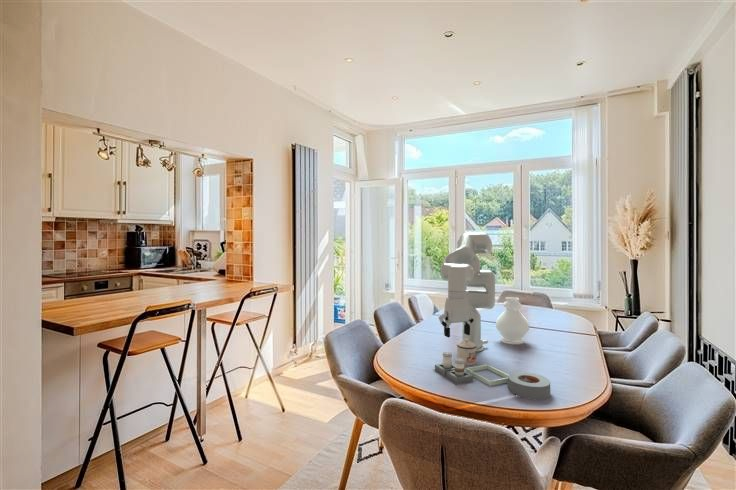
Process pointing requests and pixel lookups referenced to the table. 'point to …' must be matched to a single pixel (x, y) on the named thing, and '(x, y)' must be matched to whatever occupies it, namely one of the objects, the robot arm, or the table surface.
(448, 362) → the cylinder
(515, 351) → the table surface
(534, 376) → the tape roll
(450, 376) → the fuse holder
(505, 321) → the decorative vase
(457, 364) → the fuse
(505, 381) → the parts tray
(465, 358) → the teacup with lid
